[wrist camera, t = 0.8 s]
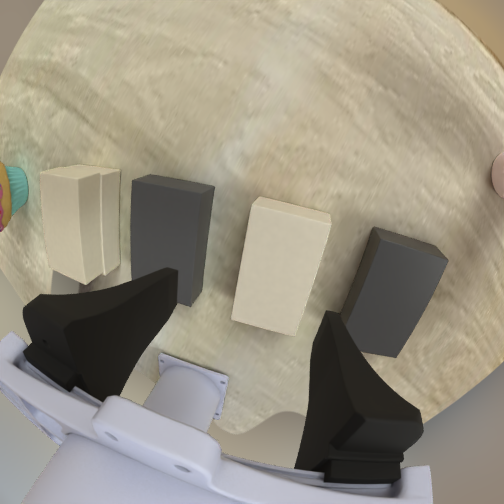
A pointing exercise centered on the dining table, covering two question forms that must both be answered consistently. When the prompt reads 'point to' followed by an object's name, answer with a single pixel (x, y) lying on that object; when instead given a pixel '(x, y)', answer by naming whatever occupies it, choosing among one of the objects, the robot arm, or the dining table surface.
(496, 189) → the smoothie
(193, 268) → the grey book
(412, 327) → the grey book
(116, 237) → the cream stack
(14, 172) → the cupcake
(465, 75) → the dining table surface
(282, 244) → the cream book
